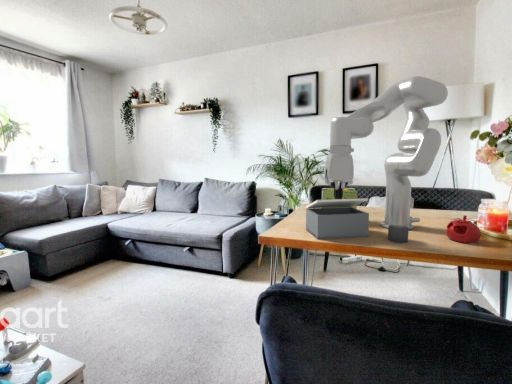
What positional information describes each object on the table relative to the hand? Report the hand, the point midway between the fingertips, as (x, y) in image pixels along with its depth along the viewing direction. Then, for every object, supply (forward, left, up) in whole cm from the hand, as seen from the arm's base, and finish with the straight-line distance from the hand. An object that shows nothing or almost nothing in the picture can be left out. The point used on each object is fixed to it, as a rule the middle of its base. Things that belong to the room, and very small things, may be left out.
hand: (338, 199), depth 102 cm
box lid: (-1, -4, -3) cm, 5 cm away
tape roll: (-19, +10, -14) cm, 25 cm away
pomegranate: (-41, +14, -14) cm, 45 cm away
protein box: (-11, -23, -14) cm, 29 cm away
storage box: (-1, -3, -14) cm, 15 cm away
